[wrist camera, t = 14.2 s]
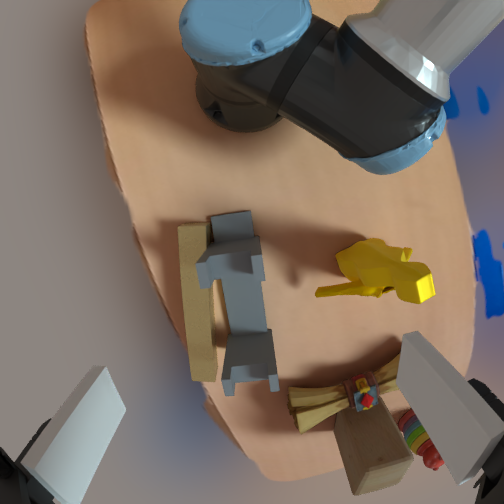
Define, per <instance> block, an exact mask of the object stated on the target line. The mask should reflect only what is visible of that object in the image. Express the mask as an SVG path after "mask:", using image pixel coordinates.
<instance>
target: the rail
mask: <svg viewBox="0 0 504 504" xmlns="http://www.w3.org/2000/svg"><path fill="white" fill-rule="evenodd" d="M178 244H179V261H180V276H181V288H182V300H183V311H184V321H185V330H186V339H187V347H188V355H189V363H190V370H191V377H192V381H205V382H215V380H216V375H217V369H218V361H217V347H216V333H215V317H214V299H213V283H212V286H211V288H205V289H200V285H199V280H198V275H197V270H196V265H195V263H196V262H197V261H198V259H199V258H200V257H201V255H202V254H203V253H204V252H205V250H206V249H207V248H208V246H209V245H210V244H211V222H206V223H184V224H182V225H180V226H178Z"/></svg>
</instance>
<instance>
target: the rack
mask: <svg viewBox="0 0 504 504" xmlns="http://www.w3.org/2000/svg"><path fill="white" fill-rule="evenodd" d="M211 222H212V228H213V234H214V240H215V242H213V243H211V244H210V245H209V246H208V248H207V249H206V250H205V252H204V253H203V254H202V255H201V257H200V258H199V259H198V261H197V262H196V263H195V265H196V270H197V275H198V280H199V285H200V289H205V288H211V286H212V283H213V281H214V280H216V279H221V281H222V287H223V292H224V298H225V303H226V308H227V314H228V319H229V324H230V329H231V334H228V339H227V346H226V352H225V359H224V365H223V372H222V378H221V381H222V385H223V389H224V393H225V396H234V391H235V383H239V382H249V381H258V380H267V379H269V384H270V390H271V392H275V391H280V390H279V382H278V374H277V367H276V359H275V352H274V344H273V337H272V330H271V329H269V330H267V324H266V316H265V309H264V302H263V295H262V287H261V281H265V274H264V266H263V259H262V252H261V246H260V240H259V236H255V237H254V230H253V223H252V216H251V211H245V212H238V213H231V214H225V215H218V216H212V217H211Z"/></svg>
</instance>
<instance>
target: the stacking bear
mask: <svg viewBox="0 0 504 504" xmlns="http://www.w3.org/2000/svg"><path fill="white" fill-rule="evenodd" d="M398 428H399V430H400V431H402V432H403V434H404V439H405V441H406V443H407V445H408V447H409V448H410V449H411V450H412V452H414V453H415V454H416V455H419V456H423V461H424V464H425V466H426V467H428V468H433V470H435V471H436V470H438V468H439V466H441V465H443V464H444V463H445V462H444V461H443V459H442V457H441V455H440V454H439V452H438V450H437V449H436V447H435V445H434V444H433V442H432V440H431V439H430V437H429V435H428V434H427V432H426V430H425V429H424V427H423V425H422V424H421V422H420V421H419V419H418V417H417V416H416V414H415V413H414V411H413V409H411V410H409V411H408V412H407V413H406V414H405V415H404V416H403V417H402V418H401V419H400V421H399V424H398Z"/></svg>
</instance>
